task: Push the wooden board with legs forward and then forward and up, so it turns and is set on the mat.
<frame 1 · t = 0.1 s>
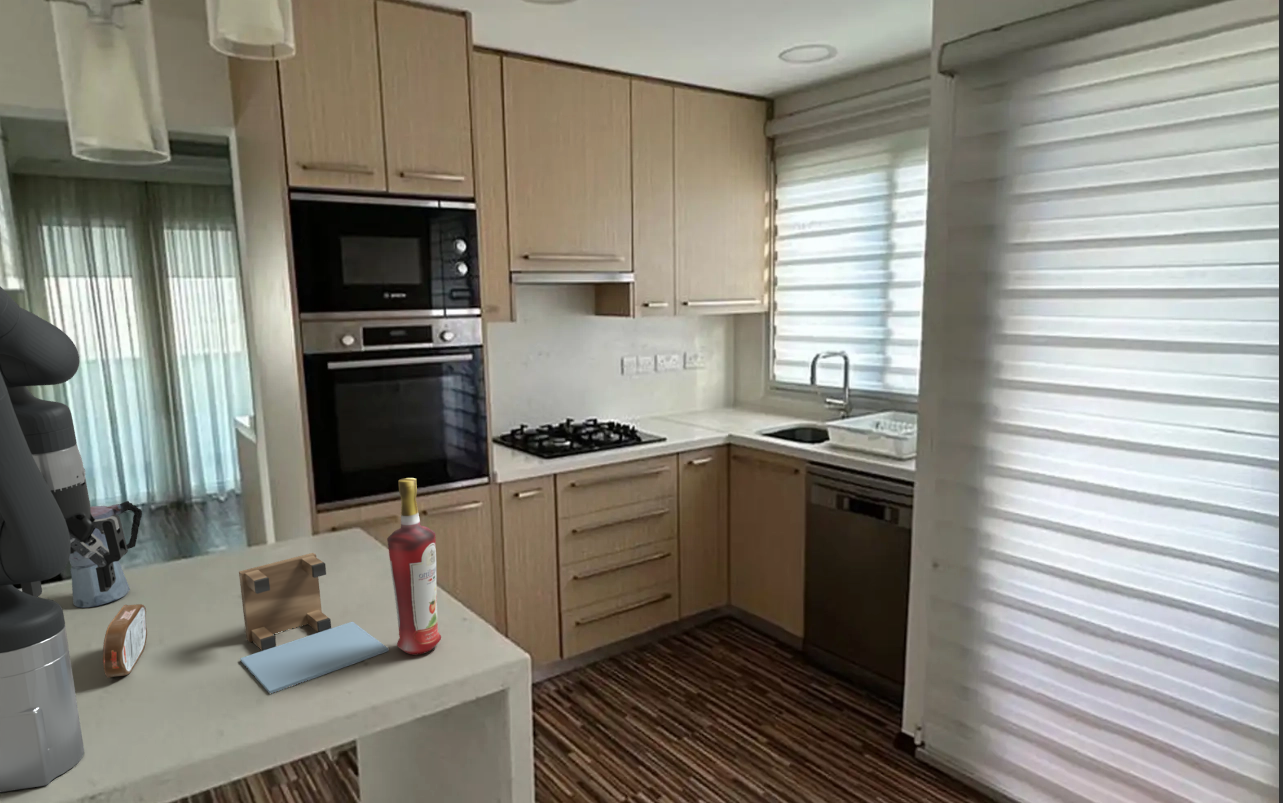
hand: (71, 593, 104), 17 cm above the countertop, tool pointing down, fingers open, 8 cm apart
mat: (315, 656, 120), on the countertop
liquor: (419, 649, 122), on the countertop
tin: (130, 664, 119), on the countertop
moka pot: (104, 598, 145), on the countertop
wooden board with legs: (291, 634, 128), on the countertop
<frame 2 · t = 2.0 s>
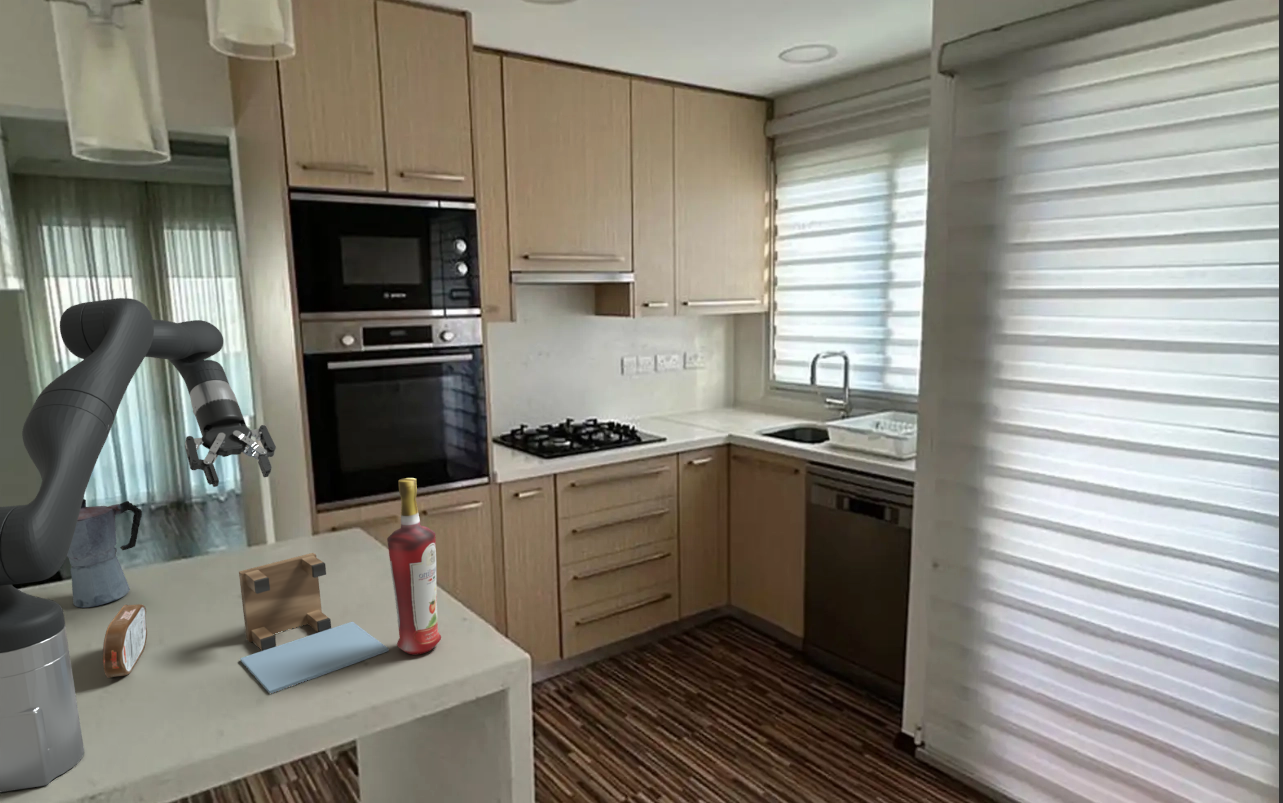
hand: (242, 479, 138), 24 cm above the countertop, tool tilted 45°, fingers open, 8 cm apart
nothing on the countertop moved.
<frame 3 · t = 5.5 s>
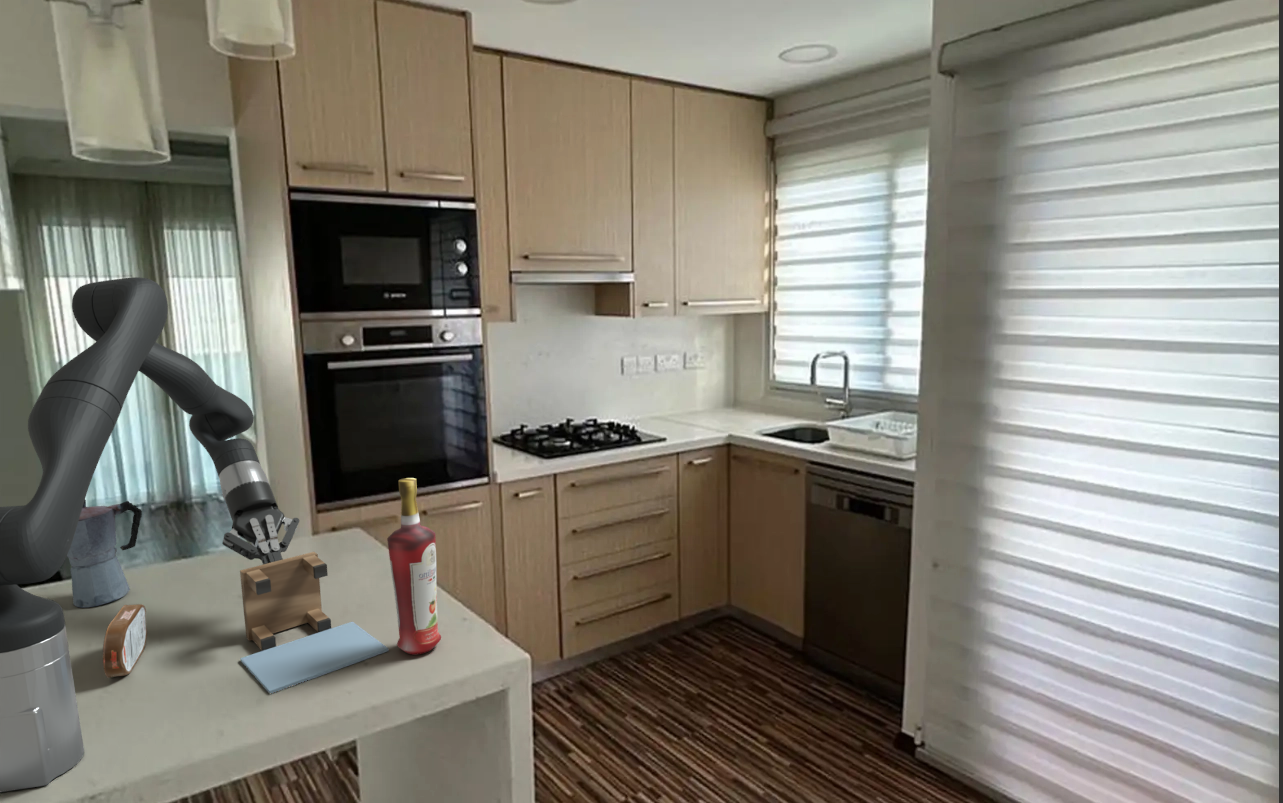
hand: (277, 573, 129), 10 cm above the countertop, tool tilted 45°, fingers closed
wooden board with legs: (291, 633, 128), on the countertop, touching gripper
everything else where it was.
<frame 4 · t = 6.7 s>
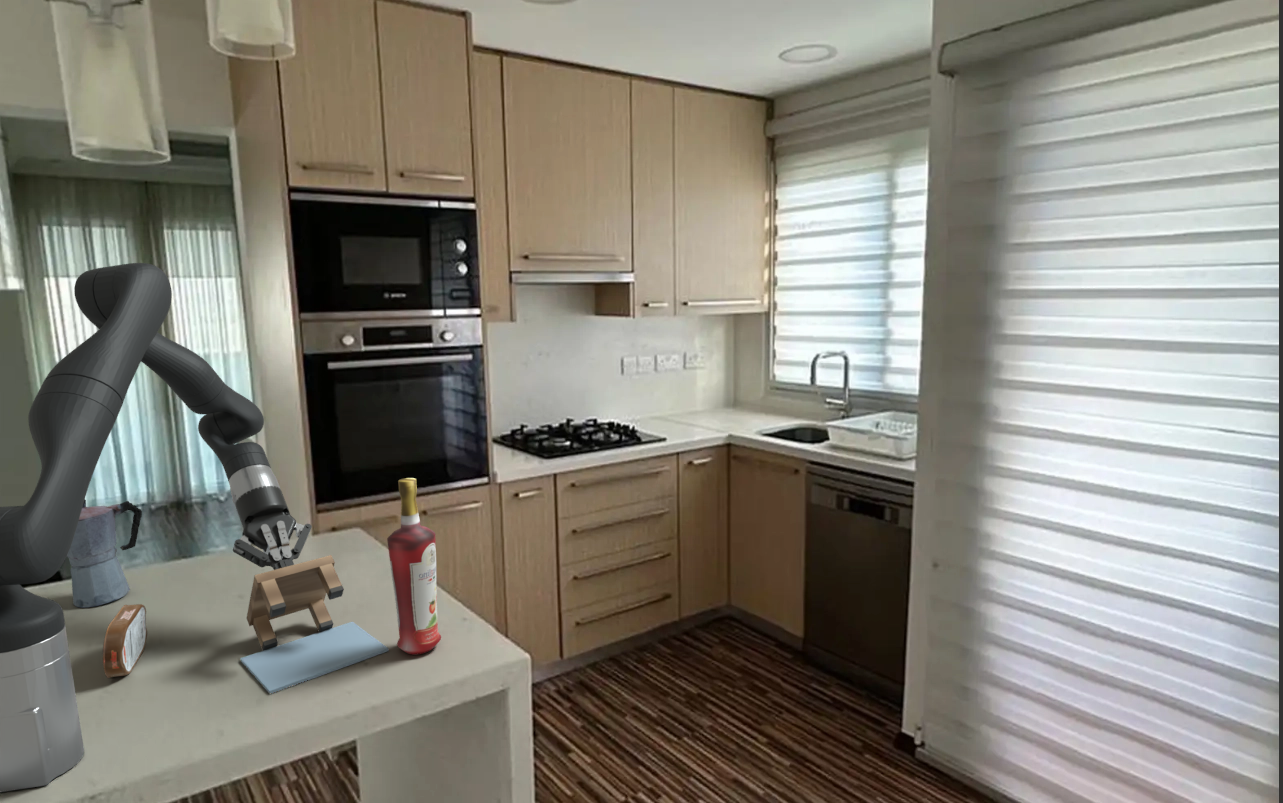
hand: (289, 581, 125), 10 cm above the countertop, tool tilted 45°, fingers closed
wooden board with legs: (291, 624, 127), point 2 cm above the countertop, tilted 38°, touching gripper
everything else where it was.
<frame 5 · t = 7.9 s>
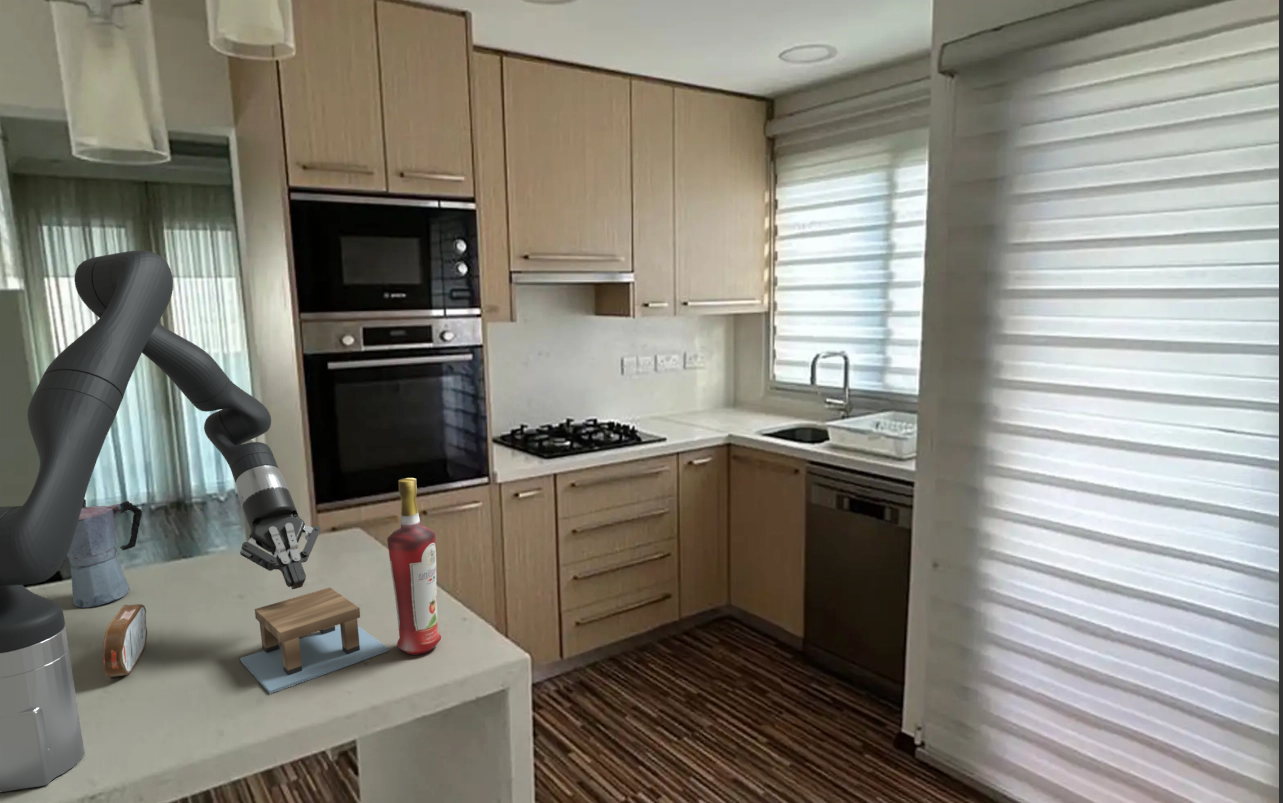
hand: (298, 585, 121), 11 cm above the countertop, tool tilted 45°, fingers closed
wooden board with legs: (295, 618, 125), point 4 cm above the countertop, tilted 90°, touching mat
everything else where it was.
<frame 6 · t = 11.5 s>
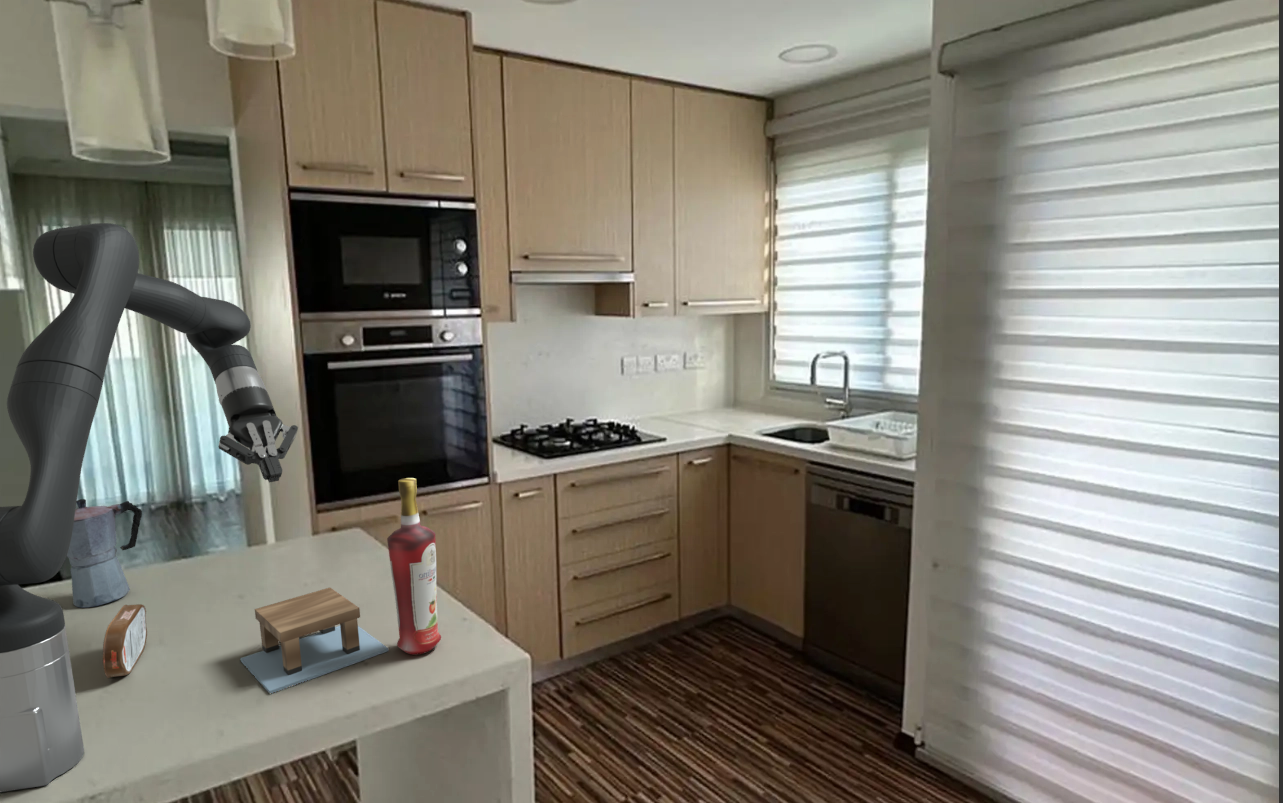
hand: (275, 478, 125), 27 cm above the countertop, tool tilted 45°, fingers closed
nothing on the countertop moved.
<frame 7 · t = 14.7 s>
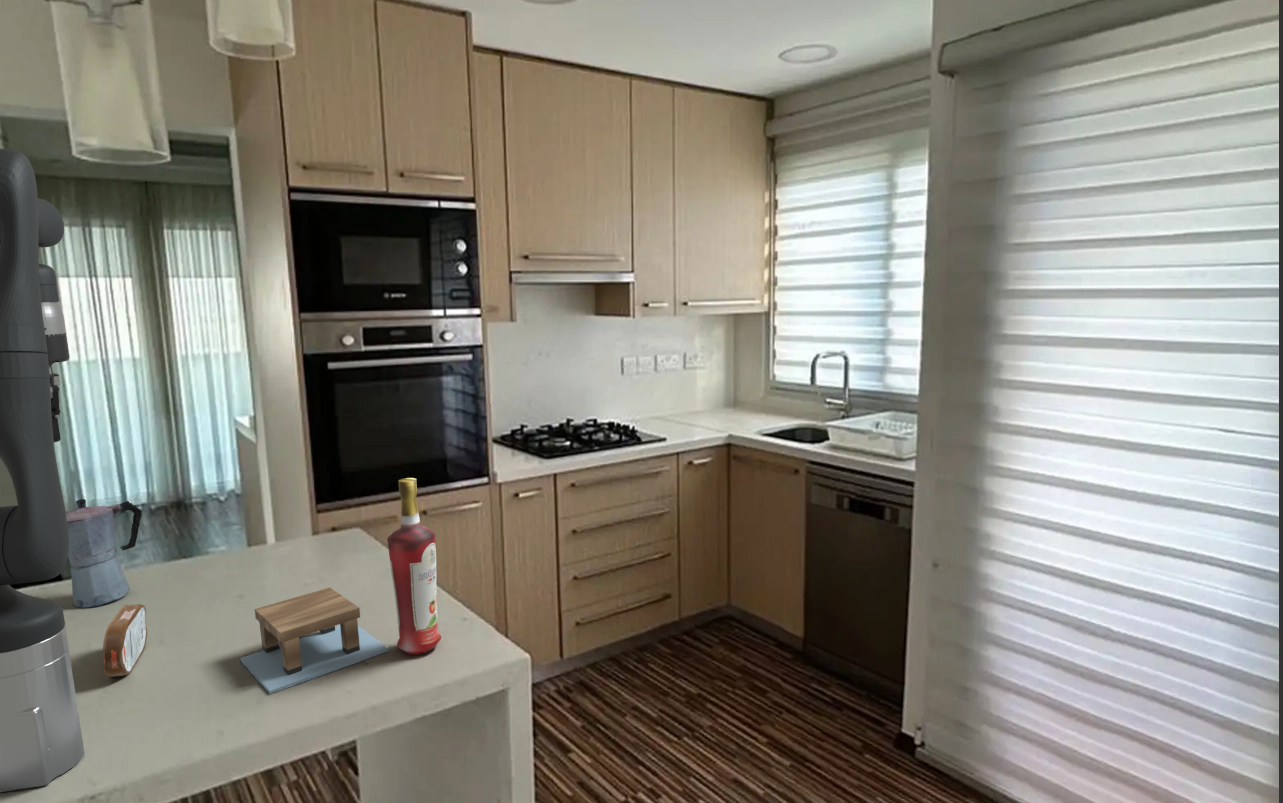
hand: (51, 441, 119), 35 cm above the countertop, tool pointing down, fingers closed
nothing on the countertop moved.
at the end: wooden board with legs tilted 90°; wooden board with legs inside the target area (0.3 cm from its centre), point 3.9 cm above the countertop; wooden board with legs touching mat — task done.
